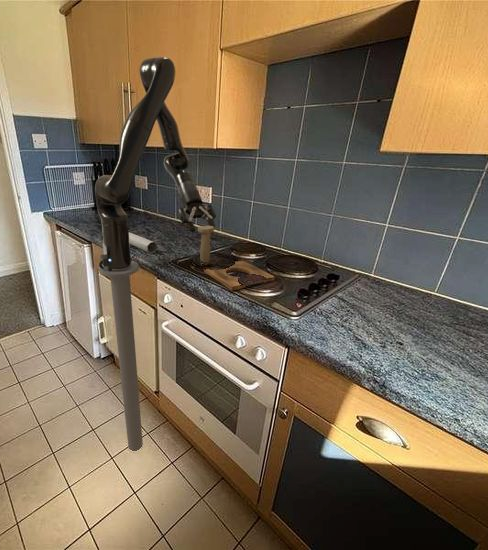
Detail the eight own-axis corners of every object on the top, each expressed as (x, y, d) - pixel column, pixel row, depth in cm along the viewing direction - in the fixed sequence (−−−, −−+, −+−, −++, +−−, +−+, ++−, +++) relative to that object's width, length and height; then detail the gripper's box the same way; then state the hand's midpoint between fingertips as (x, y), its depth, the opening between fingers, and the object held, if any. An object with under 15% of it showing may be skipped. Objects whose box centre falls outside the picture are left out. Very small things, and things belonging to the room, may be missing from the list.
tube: (117, 233, 144) (145, 245, 127) (126, 228, 147) (155, 239, 129) (121, 243, 147) (149, 256, 130) (130, 237, 150) (158, 249, 132)
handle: (194, 264, 119) (195, 227, 113) (207, 261, 122) (208, 225, 116) (202, 268, 115) (203, 230, 109) (215, 264, 119) (216, 227, 113)
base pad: (231, 290, 98) (232, 286, 97) (203, 271, 112) (203, 268, 111) (274, 280, 105) (274, 276, 105) (242, 263, 120) (243, 260, 119)
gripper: (176, 190, 113) (190, 227, 108) (208, 188, 119) (223, 222, 115) (170, 202, 119) (183, 237, 115) (201, 199, 126) (215, 233, 121)
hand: (203, 230), depth 115 cm, fingers open, 8 cm apart
